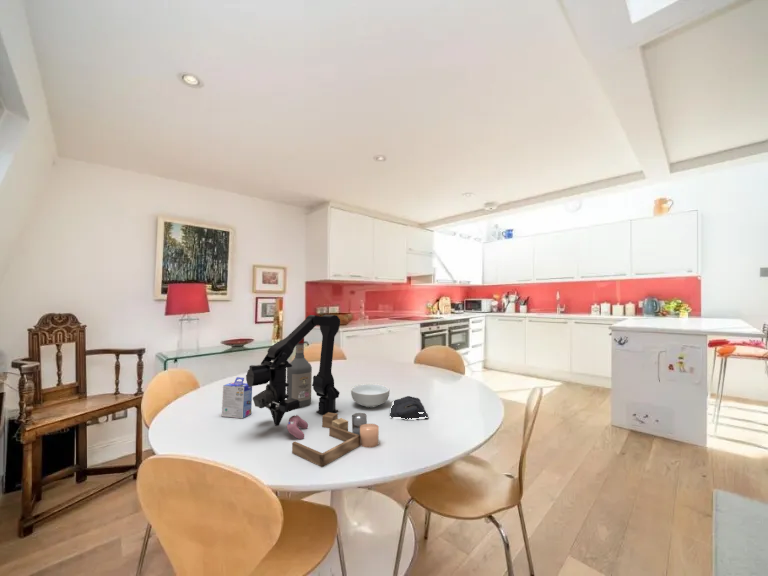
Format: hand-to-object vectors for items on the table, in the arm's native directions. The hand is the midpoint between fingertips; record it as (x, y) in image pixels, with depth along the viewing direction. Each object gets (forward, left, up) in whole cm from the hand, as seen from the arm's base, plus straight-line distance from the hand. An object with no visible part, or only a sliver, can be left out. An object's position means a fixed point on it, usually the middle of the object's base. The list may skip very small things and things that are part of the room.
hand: (276, 425), depth 109 cm
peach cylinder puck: (-11, +34, -1) cm, 35 cm away
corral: (0, +26, -1) cm, 26 cm away
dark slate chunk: (-44, +28, -2) cm, 52 cm away
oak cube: (-11, +20, -1) cm, 23 cm away
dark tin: (-15, +26, -1) cm, 30 cm away
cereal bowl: (-40, +10, -1) cm, 41 cm away
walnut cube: (-13, +13, -1) cm, 19 cm away
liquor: (-21, -15, -1) cm, 26 cm away
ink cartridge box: (+2, -24, -1) cm, 24 cm away
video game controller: (-2, +10, -1) cm, 10 cm away
